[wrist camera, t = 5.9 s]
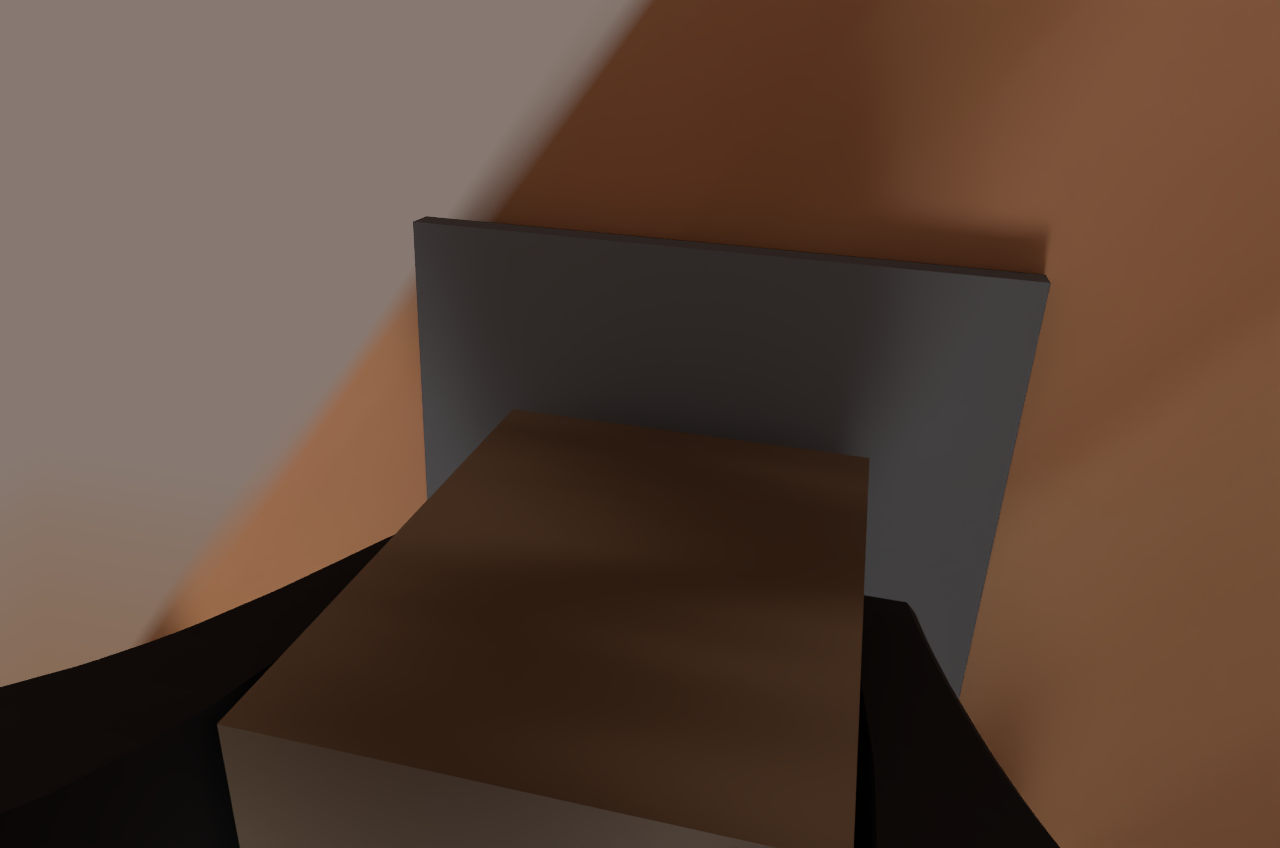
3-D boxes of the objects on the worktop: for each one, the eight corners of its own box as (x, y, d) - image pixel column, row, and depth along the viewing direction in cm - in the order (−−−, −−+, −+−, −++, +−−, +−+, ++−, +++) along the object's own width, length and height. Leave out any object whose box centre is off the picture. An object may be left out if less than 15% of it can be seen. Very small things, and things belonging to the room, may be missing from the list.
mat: (1045, 274, 11) (1050, 283, 11) (934, 786, 14) (935, 806, 14) (426, 215, 13) (412, 222, 12) (447, 689, 16) (437, 704, 16)
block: (870, 458, 11) (852, 864, 6) (823, 748, 13) (780, 1258, 8) (513, 409, 12) (217, 722, 7) (517, 686, 14) (287, 1106, 9)
